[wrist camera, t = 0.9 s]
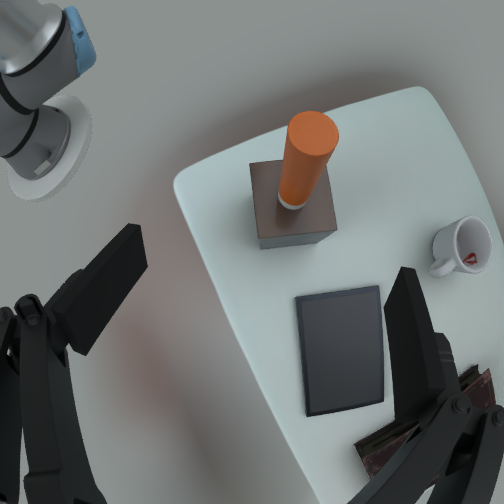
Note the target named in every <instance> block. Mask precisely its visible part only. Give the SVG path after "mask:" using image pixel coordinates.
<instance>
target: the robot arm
mask: <svg viewBox="0 0 504 504" xmlns="http://www.w3.org/2000/svg"><path fill="white" fill-rule="evenodd" d="M95 61H96V53H95V50H94V47H93V45H92V42H91V40H90V37H89V35H88V33H87V31H86V28H85V26H84V24H83V21H82V19H81V17H80V15H79V13H78V11H77V9H76V8H75V7H74V6H70V7H67V8H65V9H64V10H63V11H62V10H61V9H60V7H59V6H57V5H55V4H44V5H41V4H40V3H39V2H38V1H37V0H0V157H3V158H4V159H6V161H7V162H8V163H9V164H10V166H11V167H12V168H13V169H14V170H15V172H16V173H17V174H18V175H19V176H21V177H22V178H25V179H27V180H37V179H40V178H42V177H44V176H45V175H47V174H48V173H49V172H50V171H51V170H52V169H53V168H54V167H55V166H56V165H57V163H58V162H59V160H60V159H61V157H62V156H63V154H64V152H65V150H66V148H67V145H68V142H69V139H70V134H71V123H70V119H69V117H68V116H67V114H66V113H64V112H63V111H62V110H61V109H59V108H56V107H52V106H48V105H44V104H43V103H45V102H46V101H47V100H48V99H50V98H51V97H52V96H53V95H55V94H56V93H57V92H59V91H60V90H61V89H63V88H64V87H65V86H67V85H68V84H70V83H71V82H73V81H74V80H75V79H77V78H79V77H80V75H81V74H83V73H84V72H85V71H87V70H88V69H89V68H91V67H92V66H93V65H94V63H95ZM147 267H148V265H147V260H146V255H145V249H144V244H143V238H142V232H141V226H140V225H137V224H130V223H128V224H127V225H126V226H125V227H124V228H123V229H122V230H121V231H120V232H119V233H118V234H117V235H116V236H115V237H114V238H113V239H112V240H111V241H110V242H109V243H108V244H107V245H106V246H105V247H104V248H103V249H102V250H101V252H100V253H99V254H98V255H97V256H96V257H95V258H94V259H93V260H92V261H91V262H90V263H89V264H88V265H87V266H86V268H85V269H84V270H82V269H79V270H78V271H76V272H75V273H73V274H72V275H71V276H70V277H69V278H68V279H67V280H66V281H65V283H63V285H62V286H61V287H60V289H58V290H57V291H56V293H55V294H54V295H53V296H52V297H51V298H50V300H49V301H48V302H47V303H46V304H45V305H44V307H43V306H42V304H41V302H40V300H39V298H38V297H37V296H36V295H34V294H27V295H25V296H23V297H21V298H20V299H19V300H18V301H17V302H16V304H15V306H14V309H15V311H16V313H17V315H14V313H13V311H12V310H11V309H10V308H9V307H2V308H0V504H18V501H19V490H20V451H21V437H22V426H23V433H24V441H25V448H26V455H27V461H28V465H29V473H28V474H27V475H26V476H24V480H23V481H24V489H25V493H26V497H27V501H28V504H107V502H106V500H105V498H104V496H103V494H102V493H101V492H100V490H99V489H98V488H97V486H96V484H95V481H94V478H93V475H92V472H91V468H90V465H89V462H88V458H87V455H86V451H85V447H84V443H83V439H82V435H81V430H80V426H79V422H78V417H77V412H76V407H75V401H74V396H73V389H72V383H71V377H70V368H69V360H68V352H67V350H66V348H65V347H66V346H67V345H68V343H69V344H70V345H71V347H72V349H73V350H74V351H75V352H77V353H80V354H82V355H84V356H86V355H87V354H88V352H89V351H90V349H91V348H92V346H93V344H94V343H95V341H96V339H97V338H98V337H99V335H100V334H101V332H102V331H103V329H104V328H105V326H106V325H107V323H108V322H109V321H110V319H111V318H112V316H113V315H114V313H115V312H116V310H117V309H118V308H119V306H120V305H121V303H122V302H123V300H124V299H125V297H126V296H127V295H128V293H129V292H130V291H131V289H132V288H133V286H134V285H135V284H136V282H137V281H138V280H139V278H140V277H141V275H142V274H143V273H144V271H145V270H146V268H147ZM384 314H385V320H386V327H387V335H388V343H389V351H390V360H391V370H392V381H393V394H394V411H395V422H403V423H407V422H412V421H414V420H415V419H416V418H417V417H418V418H419V424H418V425H417V426H416V427H415V428H414V429H413V430H411V431H410V432H409V433H408V434H407V435H409V436H408V438H407V439H406V440H405V442H404V443H403V444H402V445H401V447H400V448H399V449H398V450H397V451H396V453H395V454H394V455H393V456H392V457H391V459H390V460H389V461H388V462H387V463H386V464H385V465H384V467H383V468H382V469H381V470H380V471H379V472H378V473H377V474H376V475H375V476H374V477H373V478H372V480H371V481H370V482H369V483H368V484H367V485H366V486H365V487H364V488H363V489H362V490H361V491H360V492H359V493H358V494H357V495H356V496H355V497H354V498H353V499H352V500H350V501H349V502H348V503H347V504H415V503H416V502H417V500H418V499H419V498H420V496H421V495H422V494H423V493H424V491H425V490H426V489H427V487H428V486H429V484H430V483H431V482H432V480H433V479H434V477H435V476H436V474H437V473H438V472H439V470H440V469H441V467H442V466H443V467H442V469H441V472H440V474H439V477H438V479H437V482H436V484H435V486H434V489H433V491H432V493H431V495H430V498H429V500H428V502H427V504H489V503H490V500H491V497H492V494H493V491H494V488H495V485H496V481H497V478H498V473H499V470H500V466H501V462H502V458H503V453H504V408H503V407H502V406H500V405H494V406H492V407H491V408H489V409H488V410H484V409H481V408H478V407H475V406H472V403H471V401H470V399H469V398H468V397H467V396H466V395H465V394H463V393H462V392H461V389H460V384H459V379H458V375H457V370H456V366H455V363H454V358H453V355H452V350H451V346H450V343H449V341H448V340H447V338H446V337H445V335H444V334H443V333H436V332H434V330H433V326H432V322H431V319H430V315H429V312H428V308H427V305H426V302H425V298H424V295H423V292H422V289H421V286H420V283H419V280H418V277H417V274H416V271H415V269H413V268H407V267H401V268H400V270H399V273H398V275H397V278H396V280H395V283H394V285H393V287H392V290H391V292H390V294H389V297H388V299H387V301H386V303H385V306H384ZM8 349H9V350H10V353H9V355H7V351H8Z"/></svg>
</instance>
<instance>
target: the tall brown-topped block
mask: <svg viewBox="0 0 504 504" xmlns="http://www.w3.org/2000/svg"><path fill="white" fill-rule="evenodd" d="M282 165H283V160H275V161H265V162H257V163H250V164H249V166H250V174H251V182H252V190H253V199H254V207H255V216H256V224H257V232H258V240H259V245H260V249H261V250H262V249H271V248H279V247H288V246H297V245H305V244H314V243H318V242H320V241H321V240H323V239H324V238H326V237H327V236H329V235H330V234H332V233H333V232H335V231H336V230H337V224H336V218H335V211H334V205H333V199H332V194H331V188H330V182H329V177H328V172H327V166H325V168H324V170H323V172H322V174H321V176H320V178H319V180H318V181H317V183H316V185H315V187H314V189H313V191H312V193H311V195H310V196H309V198H308V200H307V202H306V204H305V205H304V206H303V207H301V208H299V209H296V210H292V209H288V208H286V207H284V206H283V205H282V204H281V202H280V200H279V197H278V192H279V186H280V179H281V172H282Z"/></svg>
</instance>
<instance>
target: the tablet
mask: <svg viewBox="0 0 504 504" xmlns="http://www.w3.org/2000/svg"><path fill="white" fill-rule="evenodd" d="M295 299H296V308H297V317H298V327H299V337H300V348H301V359H302V370H303V382H304V395H305V408H306V416H307V417H311V416H317V415H323V414H329V413H335V412H340V411H345V410H350V409H355V408H359V407H364V406H368V405H372V404H377V403H381V402H384V352H383V330H382V314H381V301H380V290H379V286H378V285H376V286H369V287H363V288H357V289H350V290H343V291H337V292H330V293H322V294H315V295H308V296H300V297H295Z"/></svg>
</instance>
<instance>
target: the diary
mask: <svg viewBox="0 0 504 504" xmlns="http://www.w3.org/2000/svg"><path fill="white" fill-rule="evenodd" d="M458 379H459V384H460V389H461V392H462V393H463V394H465V395H466V396H467V397H468V398H469V399H470V401H471V403H472V406H475V407H478V408H481V409H484V410H488V409H489V408H491V407H492V406H494V405H496V401H495V393H494V388H493V383H492V378H491V373H490V370H489V368H488V369H487V370H486V371H485V372H484V373H483V374H480V373H479V371H478V364H477V365H475V366H473V367H472V368H471V369H469V370H468V371H467V372H466V373H464V374H463V375H462V376H460V377H459V378H458ZM418 424H419V418H418V417H417V418H416V419H415V420H414V421H412V422H407V423H403V422H395V421H394V422H392V423H390V424H388V425H387V426H385V427H384V428H382V429H380V430H379V431H377V432H375V433H374V434H372V435H370V436H368V437H367V438H365V439H363V440H361V441H360V442H358V443H356V444H354V445H355V447H356V449H357V451H358V453H359V455H360V457H361V460H362V462H363V464H364V466H365V468H366V470H367V472H368V474H369V476H370V478H371V480H372V478H373V477H374V476H375V475H376V474H377V473H378V472H379V471H380V470H381V469H382V468H383V467H384V465H385V464H386V463H387V462H388V461H389V460H390V459H391V457H392V456H393V455H394V454H395V453H396V451H397V450H398V449H399V448H400V447H401V445H402V444H403V443H404V442H405V440H406V439H407V438H408V436H409V435H407V434H408V433H409V432H410V431H411V430H413V429H414V428H415V427H416V426H417V425H418ZM442 467H443V466H442ZM442 467H441V469H442ZM441 469H440V470H439V472H438V473H437V474H436V476H435V477H434V479H433V480H432V482H431V483H430V484H429V486H428V487H427V489H428V488H429V487H431V486H432V485H434V484H436V482H437V479H438V477H439V474H440V472H441Z"/></svg>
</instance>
